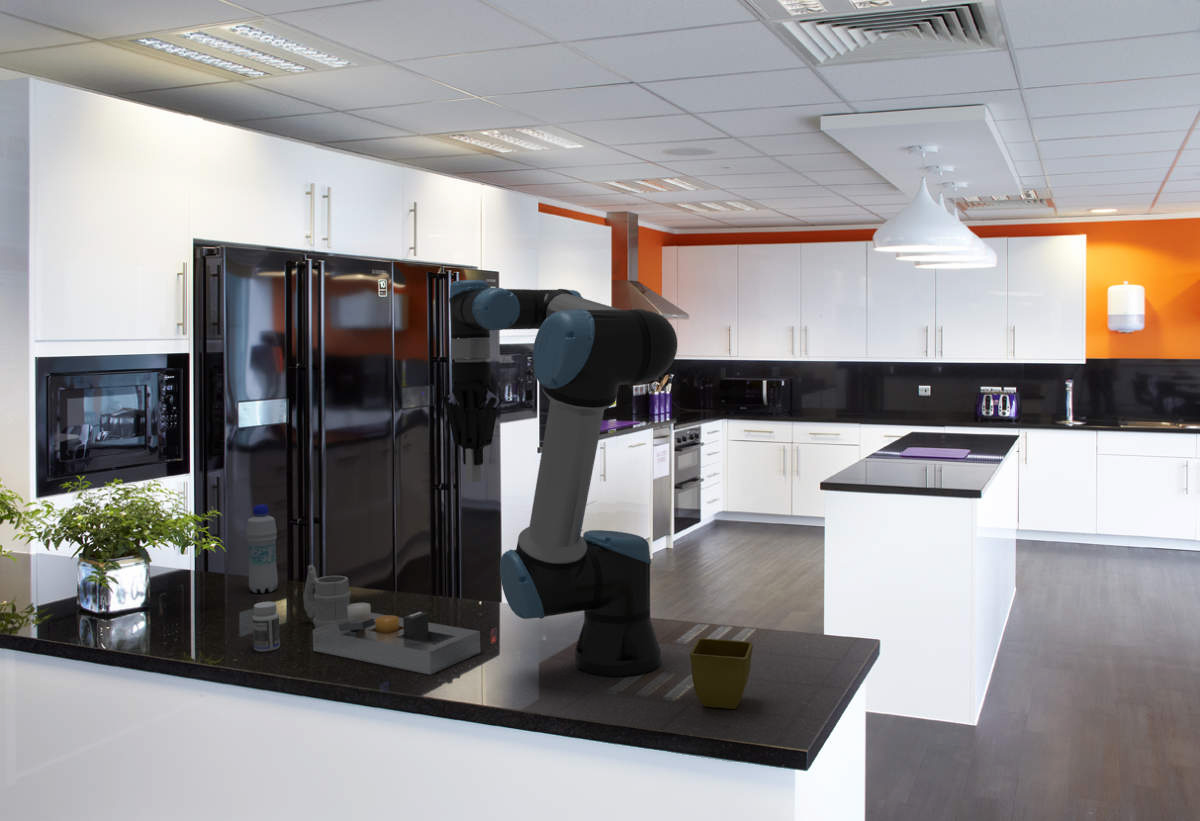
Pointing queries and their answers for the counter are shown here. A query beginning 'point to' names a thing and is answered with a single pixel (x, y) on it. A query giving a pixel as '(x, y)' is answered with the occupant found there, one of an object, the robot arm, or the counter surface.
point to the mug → (326, 598)
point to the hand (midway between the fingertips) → (473, 481)
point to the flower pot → (720, 671)
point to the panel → (399, 646)
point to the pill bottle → (266, 627)
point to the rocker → (356, 624)
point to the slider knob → (416, 626)
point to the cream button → (359, 611)
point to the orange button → (387, 624)
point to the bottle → (262, 550)
